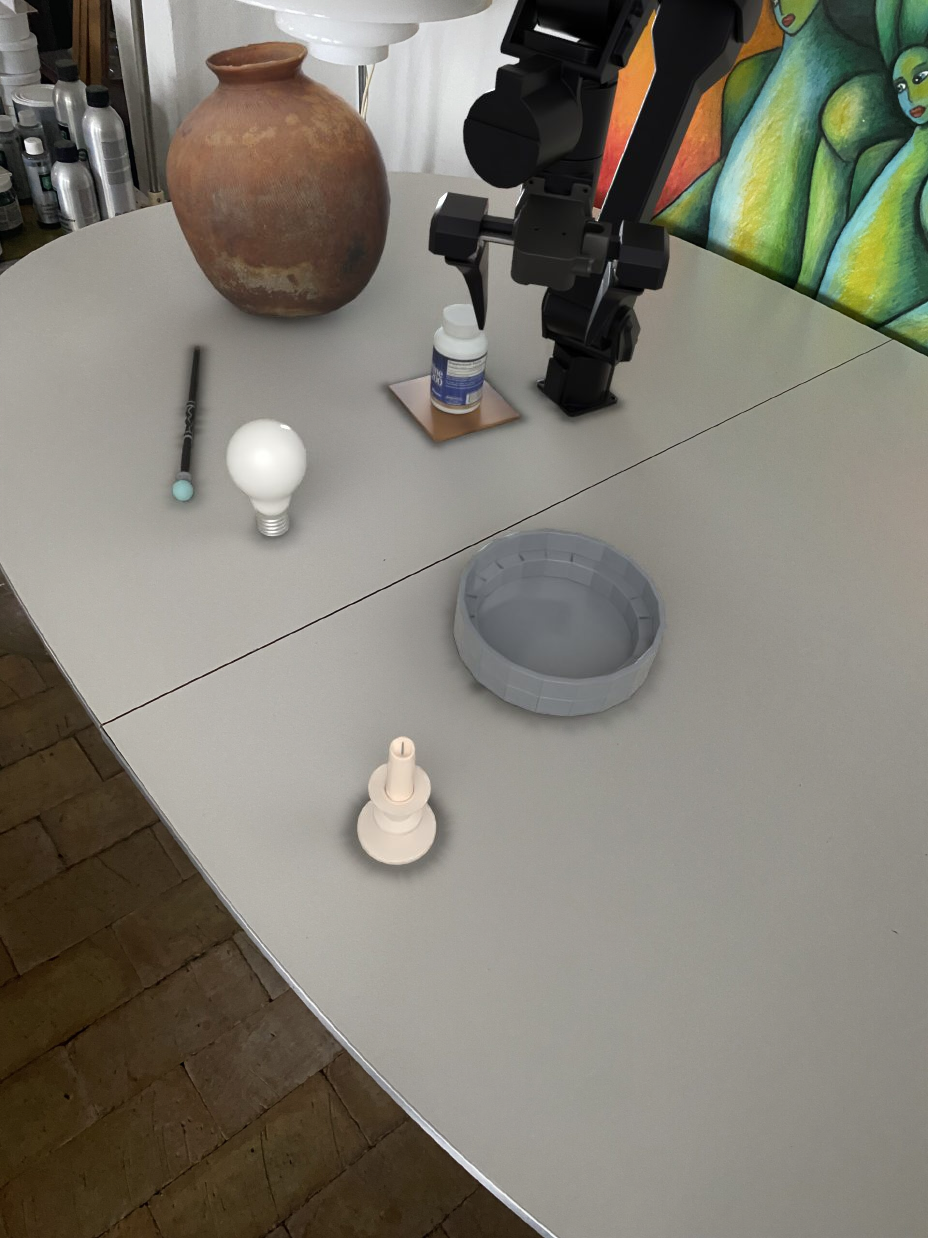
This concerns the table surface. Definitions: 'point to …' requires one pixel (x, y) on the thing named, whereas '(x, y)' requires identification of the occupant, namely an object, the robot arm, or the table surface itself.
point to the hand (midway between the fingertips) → (533, 336)
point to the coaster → (448, 424)
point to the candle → (398, 809)
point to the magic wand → (187, 439)
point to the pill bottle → (458, 361)
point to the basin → (558, 621)
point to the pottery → (279, 186)
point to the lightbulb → (267, 469)
